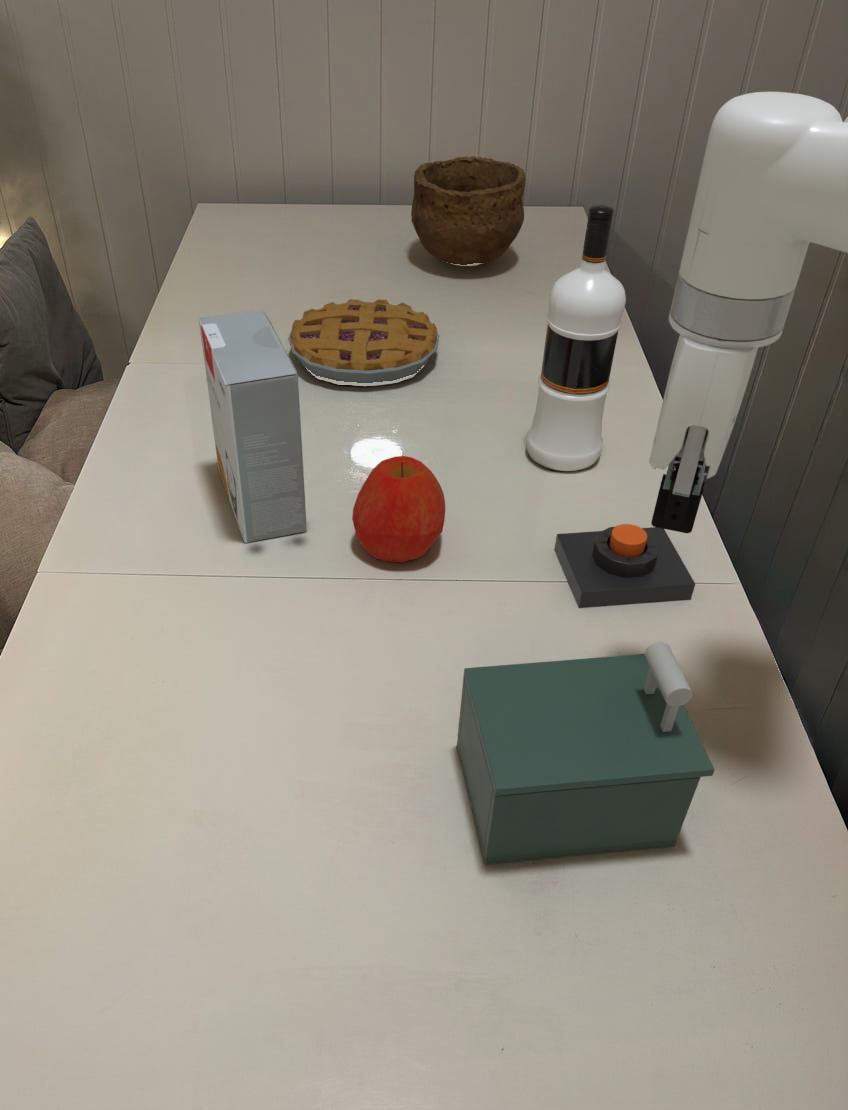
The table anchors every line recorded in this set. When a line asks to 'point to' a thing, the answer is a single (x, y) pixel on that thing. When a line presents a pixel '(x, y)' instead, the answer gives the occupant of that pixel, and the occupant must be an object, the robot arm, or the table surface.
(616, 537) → the release button
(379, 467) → the apple
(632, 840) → the hinged box
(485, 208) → the bowl
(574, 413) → the vodka
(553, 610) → the table surface
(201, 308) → the table surface
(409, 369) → the pie
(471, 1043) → the table surface
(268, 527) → the hard drive box
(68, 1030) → the table surface
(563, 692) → the box lid
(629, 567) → the control block
